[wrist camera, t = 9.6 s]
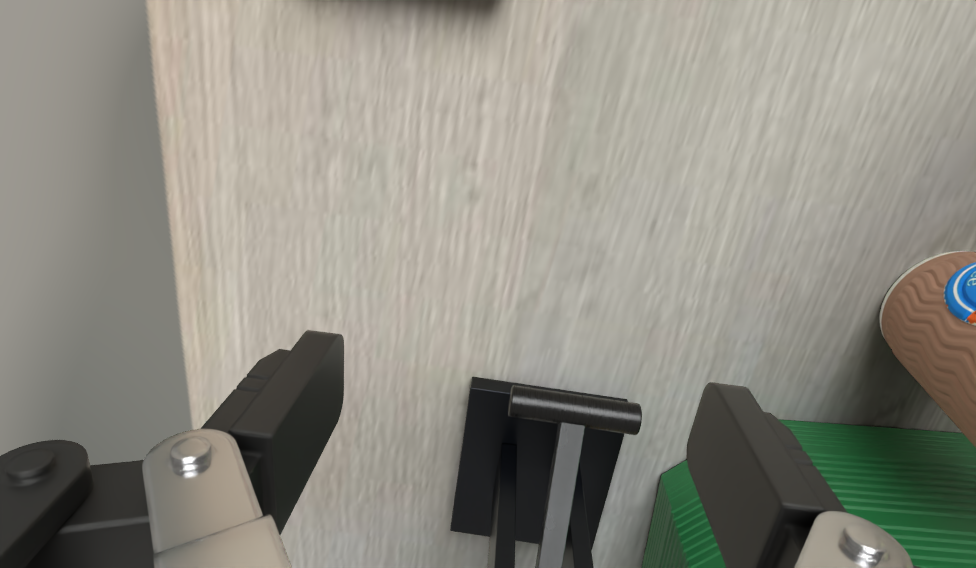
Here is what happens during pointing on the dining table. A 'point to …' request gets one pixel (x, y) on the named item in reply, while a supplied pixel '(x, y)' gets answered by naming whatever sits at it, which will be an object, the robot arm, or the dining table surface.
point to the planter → (850, 494)
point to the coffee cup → (938, 331)
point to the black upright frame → (525, 477)
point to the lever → (567, 451)
